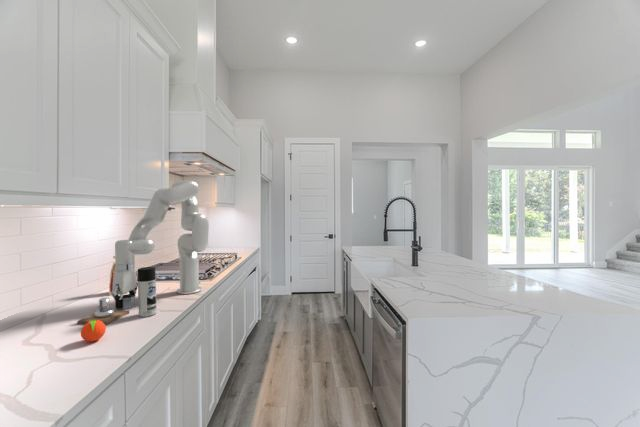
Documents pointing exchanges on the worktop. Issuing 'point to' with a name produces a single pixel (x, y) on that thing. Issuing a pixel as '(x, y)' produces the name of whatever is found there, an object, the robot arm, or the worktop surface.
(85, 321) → the base plate
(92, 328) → the clementine
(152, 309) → the spray can
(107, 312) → the grey rounded fixture
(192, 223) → the robot arm
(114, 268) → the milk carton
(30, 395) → the worktop surface
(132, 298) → the octagonal pot
